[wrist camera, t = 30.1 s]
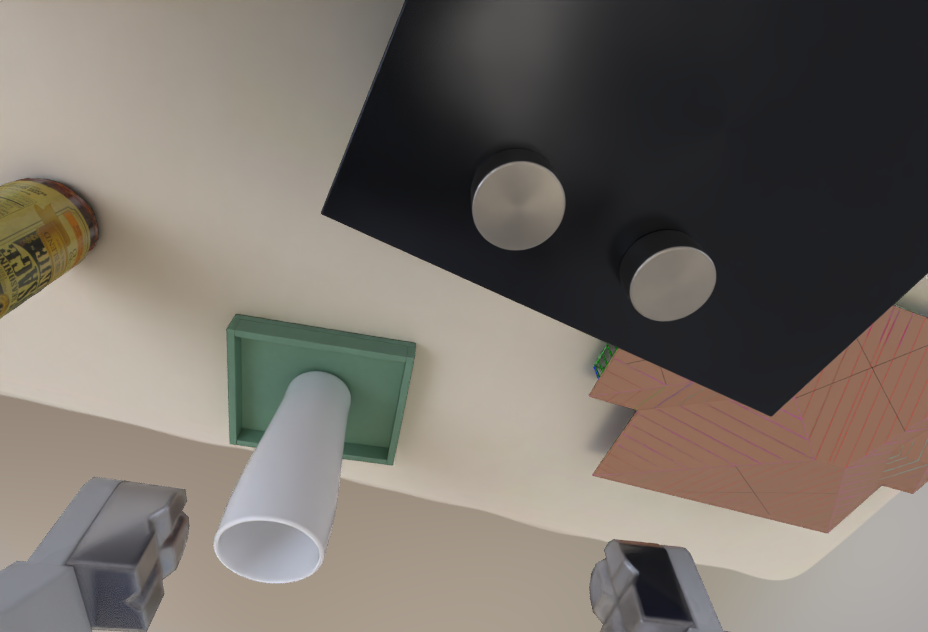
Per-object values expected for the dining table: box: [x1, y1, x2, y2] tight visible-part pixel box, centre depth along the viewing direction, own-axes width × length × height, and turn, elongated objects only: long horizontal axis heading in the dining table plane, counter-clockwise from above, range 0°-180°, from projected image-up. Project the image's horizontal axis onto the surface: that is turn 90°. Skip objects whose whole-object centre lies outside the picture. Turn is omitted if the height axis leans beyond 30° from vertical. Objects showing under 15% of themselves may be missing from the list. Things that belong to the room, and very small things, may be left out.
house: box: [589, 306, 928, 533], centre depth 43 cm, size 23×33×8 cm
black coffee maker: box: [321, 0, 928, 417], centre depth 22 cm, size 14×17×23 cm
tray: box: [226, 314, 416, 465], centre depth 45 cm, size 14×12×2 cm
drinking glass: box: [214, 371, 351, 584], centre depth 39 cm, size 7×7×15 cm
